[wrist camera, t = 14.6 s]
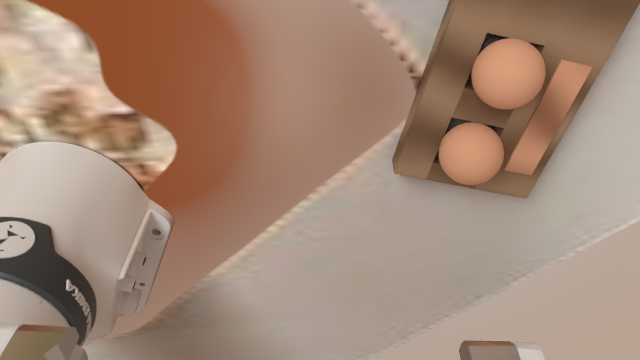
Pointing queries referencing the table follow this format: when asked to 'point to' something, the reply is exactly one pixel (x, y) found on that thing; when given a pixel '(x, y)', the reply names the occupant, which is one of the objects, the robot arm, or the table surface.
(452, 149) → the terracotta ball
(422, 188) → the table surface
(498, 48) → the terracotta ball
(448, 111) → the walnut ball rack
